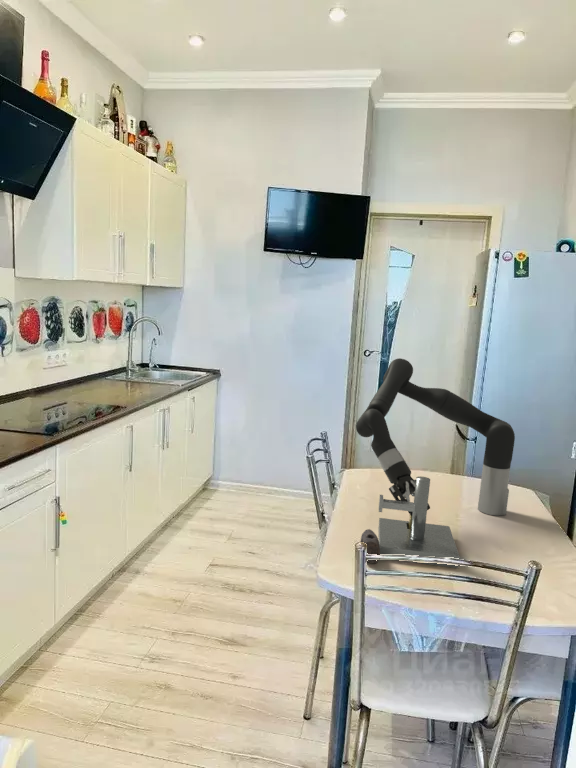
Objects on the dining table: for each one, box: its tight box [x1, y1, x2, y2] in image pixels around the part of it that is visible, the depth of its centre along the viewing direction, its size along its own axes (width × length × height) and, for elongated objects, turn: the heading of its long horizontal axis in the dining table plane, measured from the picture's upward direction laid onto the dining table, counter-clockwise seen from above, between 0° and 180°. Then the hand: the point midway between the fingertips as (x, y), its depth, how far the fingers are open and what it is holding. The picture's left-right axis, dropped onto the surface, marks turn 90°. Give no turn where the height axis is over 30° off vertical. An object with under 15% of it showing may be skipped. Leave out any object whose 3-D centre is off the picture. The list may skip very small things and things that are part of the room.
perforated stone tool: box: [360, 528, 380, 564], centre depth 158 cm, size 15×5×7 cm, turn 176°
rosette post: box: [377, 475, 461, 569], centre depth 164 cm, size 23×22×22 cm
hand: (420, 512), depth 170 cm, fingers open, 6 cm apart
